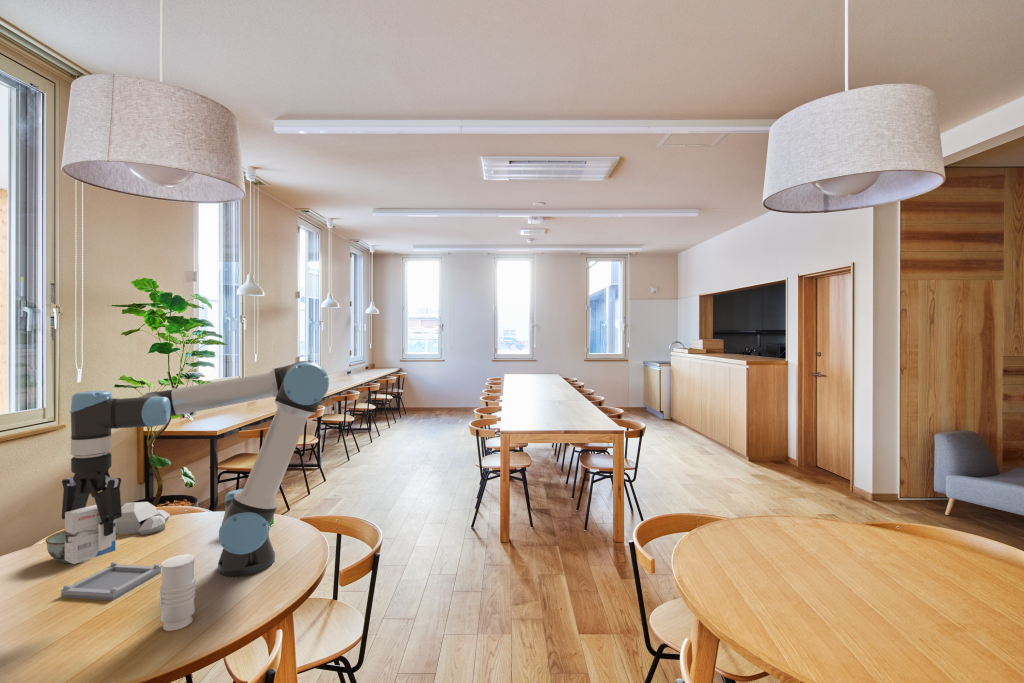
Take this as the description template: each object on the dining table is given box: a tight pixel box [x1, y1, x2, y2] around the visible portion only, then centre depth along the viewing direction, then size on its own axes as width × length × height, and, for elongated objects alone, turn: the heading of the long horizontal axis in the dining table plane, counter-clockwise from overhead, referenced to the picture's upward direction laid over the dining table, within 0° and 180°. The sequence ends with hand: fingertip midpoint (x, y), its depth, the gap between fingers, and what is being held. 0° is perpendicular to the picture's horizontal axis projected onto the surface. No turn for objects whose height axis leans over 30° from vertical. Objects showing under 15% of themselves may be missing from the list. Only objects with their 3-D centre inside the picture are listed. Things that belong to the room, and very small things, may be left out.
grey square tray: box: [60, 561, 162, 601], centre depth 133 cm, size 15×15×3 cm
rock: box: [115, 501, 171, 536], centre depth 173 cm, size 18×20×10 cm
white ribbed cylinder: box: [159, 553, 196, 632], centre depth 115 cm, size 7×7×15 cm
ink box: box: [64, 504, 116, 565], centre depth 118 cm, size 8×5×12 cm, turn 153°
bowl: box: [45, 530, 71, 564], centre depth 148 cm, size 14×13×8 cm
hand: (91, 547), depth 118 cm, fingers closed on ink box, 6 cm apart
